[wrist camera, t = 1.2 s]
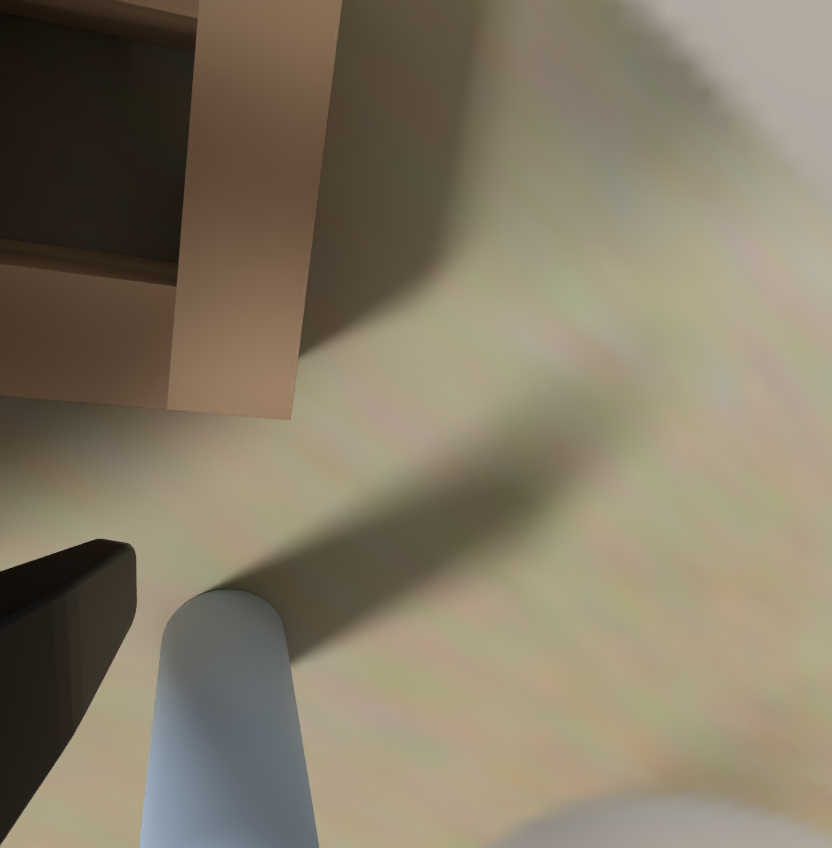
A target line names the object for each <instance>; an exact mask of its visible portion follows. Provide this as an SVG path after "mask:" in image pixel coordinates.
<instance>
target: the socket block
mask: <svg viewBox="0 0 832 848" xmlns="http://www.w3.org/2000/svg"><path fill="white" fill-rule="evenodd" d="M341 7H342V0H0V11H1V12H5V13H10V14H15V15H20V16H24V17H29V18H34V19H39V20H43V21H48V22H53V23H58V24H63V25H67V26H72V27H77V28H82V29H86V30H91V31H96V32H101V33H105V34H110V35H115V36H120V37H125V38H129V39H134V40H139V41H144V42H148V43H153V44H158V45H163V46H168V47H172V48H177V49H182V50H187V51H191V52H195V61H194V73H193V86H192V98H191V111H190V124H189V136H188V149H187V162H186V174H185V187H184V200H183V212H182V225H181V238H180V250H179V262H173V261H165V260H158V259H151V258H143V257H136V256H129V255H121V254H114V253H107V252H99V251H92V250H85V249H77V248H70V247H63V246H55V245H48V244H41V243H33V242H26V241H18V240H11V239H4V238H0V396H12V397H23V398H35V399H47V400H59V401H70V402H82V403H94V404H106V405H117V406H129V407H141V408H153V409H164V410H176V411H188V412H199V413H211V414H223V415H235V416H246V417H258V418H270V419H282V420H291V412H292V404H293V396H294V388H295V380H296V372H297V364H298V356H299V347H300V339H301V331H302V323H303V315H304V307H305V299H306V291H307V283H308V274H309V266H310V258H311V250H312V242H313V234H314V226H315V218H316V210H317V202H318V193H319V185H320V177H321V169H322V161H323V153H324V145H325V137H326V129H327V120H328V112H329V104H330V96H331V88H332V80H333V72H334V64H335V56H336V47H337V39H338V31H339V23H340V15H341Z"/></svg>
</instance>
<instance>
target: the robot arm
mask: <svg viewBox="0 0 832 848" xmlns="http://www.w3.org/2000/svg"><path fill="white" fill-rule="evenodd" d="M136 606H137V586H136V554H135V550H134V548H133V547H132V546H131V545H130V544H128V543H124V542H118V541H112V540H107V539H95V540H92V541H89V542H86V543H83V544H80V545H77V546H74V547H71V548H68V549H65V550H63V551H60V552H57V553H54V554H51V555H48V556H45V557H42V558H39V559H36V560H33V561H30V562H27V563H24V564H21V565H18V566H15V567H12V568H9V569H6V570H3V571H0V845H1V844H2V842H3V841H4V839H5V838H6V836H7V835H8V833H9V832H10V830H11V829H12V827H13V826H14V824H15V823H16V821H17V820H18V818H19V817H20V815H21V814H22V812H23V811H24V809H25V808H26V806H27V805H28V803H29V802H30V800H31V799H32V797H33V796H34V794H35V793H36V791H37V790H38V788H39V787H40V785H41V784H42V782H43V781H44V779H45V778H46V776H47V775H48V773H49V772H50V770H51V769H52V767H53V766H54V764H55V763H56V761H57V760H58V758H59V757H60V755H61V754H62V752H63V751H64V749H65V747H66V746H67V744H68V743H69V741H70V740H71V738H72V736H73V735H74V733H75V731H76V729H77V728H78V726H79V724H80V722H81V720H82V719H83V717H84V715H85V713H86V711H87V709H88V707H89V705H90V703H91V702H92V700H93V698H94V696H95V694H96V692H97V690H98V688H99V686H100V684H101V682H102V680H103V679H104V677H105V675H106V673H107V671H108V669H109V667H110V665H111V663H112V661H113V659H114V657H115V656H116V654H117V652H118V650H119V648H120V646H121V644H122V642H123V640H124V638H125V636H126V634H127V632H128V631H129V629H130V627H131V625H132V622H133V619H134V616H135V612H136Z"/></svg>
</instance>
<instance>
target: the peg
mask: <svg viewBox="0 0 832 848" xmlns="http://www.w3.org/2000/svg"><path fill="white" fill-rule="evenodd" d="M139 848H319V844H318V837H317V831H316V825H315V818H314V812H313V806H312V800H311V793H310V787H309V781H308V774H307V768H306V762H305V755H304V749H303V743H302V737H301V730H300V724H299V718H298V711H297V705H296V699H295V692H294V686H293V680H292V674H291V667H290V661H289V655H288V648H287V642H286V636H285V630H284V626H283V622H282V620H281V618H280V616H279V614H278V613H277V611H276V610H275V609H274V608H273V607H272V606H271V605H270V604H269V603H268V602H267V601H265V600H264V599H262V598H261V597H259V596H257V595H255V594H252V593H249V592H246V591H241V590H234V589H222V590H215V591H211V592H207V593H204V594H201V595H199V596H197V597H195V598H193V599H191V600H189V601H188V602H186V603H185V604H184V605H182V606H181V607H180V608H179V609H178V610H177V611H176V612H175V613H174V614H173V616H172V617H171V618H170V620H169V621H168V623H167V625H166V627H165V630H164V633H163V636H162V642H161V651H160V661H159V670H158V679H157V688H156V697H155V706H154V716H153V725H152V734H151V743H150V752H149V761H148V771H147V780H146V789H145V798H144V807H143V817H142V826H141V835H140V844H139Z"/></svg>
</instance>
